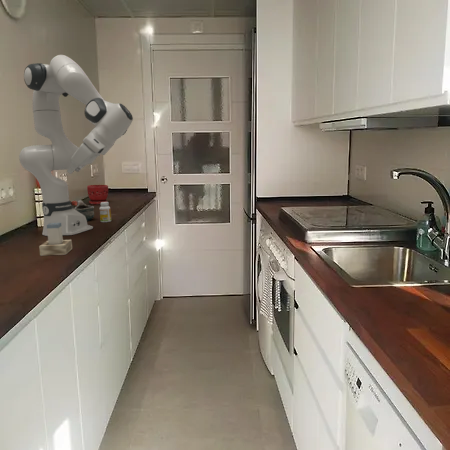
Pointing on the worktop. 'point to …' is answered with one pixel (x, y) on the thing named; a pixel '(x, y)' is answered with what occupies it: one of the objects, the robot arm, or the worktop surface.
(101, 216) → the supplement bottle
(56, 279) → the worktop surface
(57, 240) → the peg
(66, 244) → the holder
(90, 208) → the mug
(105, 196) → the plant pot
